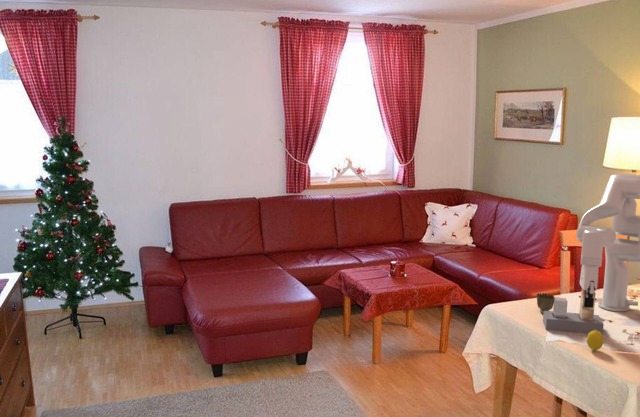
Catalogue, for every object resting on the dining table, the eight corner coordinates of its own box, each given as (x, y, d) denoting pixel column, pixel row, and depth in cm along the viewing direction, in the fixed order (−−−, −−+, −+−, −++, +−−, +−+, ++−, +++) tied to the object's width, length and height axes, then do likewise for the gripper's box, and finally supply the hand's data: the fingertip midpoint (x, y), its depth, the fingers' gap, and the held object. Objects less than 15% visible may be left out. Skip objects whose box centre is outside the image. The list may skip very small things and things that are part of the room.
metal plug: (563, 325, 240) (565, 298, 238) (565, 328, 236) (567, 301, 234) (552, 323, 241) (554, 297, 239) (553, 327, 237) (555, 300, 235)
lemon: (594, 354, 212) (596, 333, 211) (582, 348, 217) (584, 328, 216) (605, 352, 214) (607, 331, 213) (593, 346, 219) (595, 326, 218)
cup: (555, 316, 251) (556, 298, 250) (537, 315, 252) (538, 297, 251) (551, 310, 258) (553, 293, 257) (534, 309, 260) (535, 292, 258)
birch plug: (590, 317, 237) (593, 289, 235) (593, 321, 232) (595, 293, 230) (579, 316, 238) (581, 289, 236) (581, 319, 233) (583, 292, 231)
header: (597, 326, 239) (598, 315, 238) (602, 336, 230) (603, 323, 229) (542, 321, 244) (543, 310, 243) (545, 330, 235) (546, 318, 234)
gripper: (577, 255, 240) (573, 297, 243) (584, 265, 224) (580, 311, 227) (597, 256, 238) (593, 299, 241) (606, 267, 222) (601, 313, 225)
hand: (587, 304), depth 234 cm, fingers closed on birch plug, 4 cm apart
